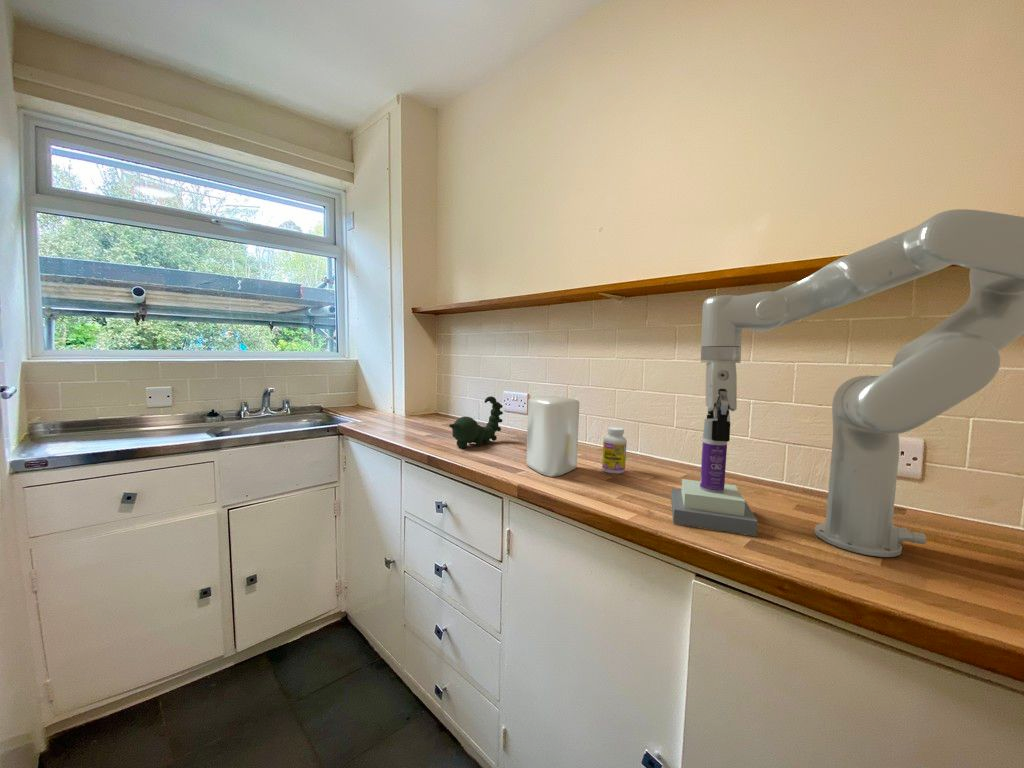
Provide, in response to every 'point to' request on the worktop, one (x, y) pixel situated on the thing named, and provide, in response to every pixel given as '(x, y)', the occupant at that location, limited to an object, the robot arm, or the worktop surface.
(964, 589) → the worktop surface
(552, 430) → the white rounded canister
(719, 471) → the container
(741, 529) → the tower base
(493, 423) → the toy figurine
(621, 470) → the supplement bottle
